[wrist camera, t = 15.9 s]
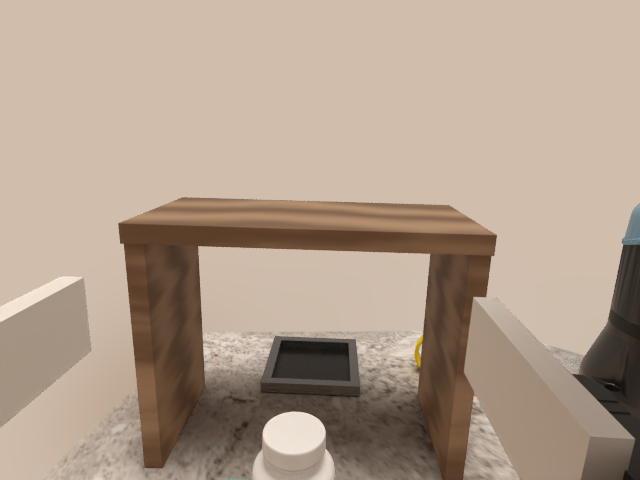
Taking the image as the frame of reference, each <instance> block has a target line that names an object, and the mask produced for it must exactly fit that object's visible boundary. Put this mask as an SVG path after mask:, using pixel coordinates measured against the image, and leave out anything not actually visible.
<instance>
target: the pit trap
mask: <svg viewBox="0 0 640 480" xmlns="http://www.w3.org/2000/svg"><path fill="white" fill-rule="evenodd" d="M261 392H275V393H298V394H320V395H343V396H359V395H360V382H359V371H358V360H357V349H356V340H355V339H330V338H305V337H280V336H275V338H274V341H273V345H272V348H271V351H270V354H269V357H268V361H267V364H266V367H265V370H264V374H263V377H262V380H261Z"/></svg>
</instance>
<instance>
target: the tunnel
mask: <svg viewBox="0 0 640 480" xmlns="http://www.w3.org/2000/svg"><path fill="white" fill-rule="evenodd" d="M119 234H120V243H122V244H124V250H125V260H126V271H127V281H128V292H129V303H130V314H131V324H132V334H133V346H134V355H135V367H136V377H137V388H138V399H139V409H140V420H141V431H142V441H143V452H144V462H145V467H151V468H162V467H163V466H164V464H165V462H166V460H167V458H168V456H169V454H170V452H171V450H172V448H173V446H174V445H175V443H176V441H177V439H178V437H179V435H180V433H181V431H182V429H183V427H184V426H185V424H186V422H187V420H188V418H189V416H190V414H191V412H192V410H193V408H194V407H195V405H196V403H197V401H198V399H199V397H200V395H201V393H202V391H203V389H204V388H205V377H204V357H203V336H202V317H201V298H200V297H201V296H200V276H199V256H198V246H213V247H215V246H216V247H243V248H273V249H303V250H335V251H364V252H395V253H425V254H430V265H429V276H428V287H427V298H426V309H425V320H424V331H423V342H422V353H421V364H420V375H419V386H418V399H419V402H420V405H421V409H422V412H423V415H424V418H425V422H426V425H427V428H428V431H429V435H430V438H431V441H432V444H433V448H434V451H435V454H436V457H437V461H438V464H439V467H440V470H441V474H442V477H443V480H463V474H464V466H465V458H466V450H467V442H468V435H469V427H470V419H471V411H472V403H473V396H474V391H473V389H472V387H471V385H470V383H469V381H468V379H467V377H466V375H465V374H464V366H465V358H466V350H467V343H468V335H469V327H470V320H471V312H472V304H473V297H486V294H487V286H488V278H489V271H490V262H491V256H494V252H495V245H496V238H497V235H495V234H494V233H492V232H491V231H489V230H488V229H486V228H484V227H483V226H481V225H480V224H478V223H476V222H475V221H473V220H472V219H470V218H468V217H467V216H465V215H464V214H462V213H460V212H459V211H457V210H456V209H454V208H452V207H451V206H449V205H424V204H389V203H355V202H320V201H286V200H284V201H283V200H252V199H251V200H250V199H249V200H248V199H217V198H180V199H178V200H175V201H173V202H170V203H168V204H165V205H163V206H160V207H158V208H156V209H153V210H151V211H148V212H145V213H143V214H141V215H138V216H136V217H133V218H131V219H128V220H126V221H123V222H121V223H119Z"/></svg>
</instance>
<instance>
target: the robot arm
mask: <svg viewBox="0 0 640 480" xmlns="http://www.w3.org/2000/svg"><path fill="white" fill-rule="evenodd" d="M622 244H624V245H623V250H622V255H621V260H620V265H619V270H618V275H617V279H616V285H615V290H614V294H613V299H612V304H611V309H610V313H609V318H608V322H607V324H606V326H605V327H604V329H603V330H602V332H601V333H600V335H599V336H598V338H597V339H596V341H595V342H594V344H593V345H592V347H591V348H590V349H589V351H588V352H587V354H586V355H585V357H584V358H583V360H582V362H581V365H580V370H579V375H576V374H571V373H570V372H569V371H568V370H567V369H566V368H565V367H564V366H563V365H562V364H561V363H560V362H559V361H558V360H557V359H556V358H555V357H554V356H553V355H552V354H551V353H550V352H549V351H548V349H547V348H546V347H545V346H544V345H543V344H542V343H541V342H540V341H539V340H538V339H537V338H536V337H535V336H534V335H533V334H532V333H531V332H530V331H529V330H528V329H527V328H526V327H525V326H524V325H523V324H522V323H521V322H520V321H519V320H518V319H517V318H516V317H515V316H514V315H513V314H512V313H511V312H510V311H509V310H508V309H507V308H506V307H505V306H504V305H503V304H502V303H501V301H500V300H499V299H498V298H487V297H473V304H472V312H471V320H470V327H469V335H468V343H467V350H466V358H465V366H464V374H465V375H466V377H467V379H468V381H469V383H470V385H471V387H472V389H473V391H474V393H475V394H476V396H477V398H478V400H479V402H480V404H481V406H482V408H483V410H484V412H485V414H486V415H487V417H488V419H489V421H490V423H491V425H492V427H493V429H494V431H495V433H496V434H497V436H498V438H499V440H500V442H501V444H502V446H503V448H504V450H505V452H506V454H507V455H508V457H509V459H510V461H511V463H512V465H513V467H514V469H515V471H516V473H517V474H518V476H519V478H520V480H640V204H638V205H637V206H636V207H635V208H634V210H633V212H632V214H631V218H630V221H629V224H628V228H627V231H626V235H625V237H624V238H623V239H622ZM90 351H91V343H90V333H89V324H88V314H87V305H86V295H85V285H84V277H66V276H61V277H59V278H57V279H55V280H53V281H51V282H49V283H47V284H45V285H43V286H41V287H39V288H37V289H35V290H33V291H31V292H29V293H27V294H25V295H23V296H21V297H19V298H17V299H15V300H13V301H11V302H8V303H6V304H4V305H2V306H0V428H1V427H2V426H3V425H4V424H6V423H7V422H8V421H9V420H10V419H11V418H13V417H14V416H15V415H16V414H17V413H19V412H20V411H21V410H22V409H23V408H24V407H26V406H27V405H28V404H29V403H30V402H31V401H33V400H34V399H35V398H36V397H37V396H39V395H40V394H41V393H42V392H43V391H44V390H46V389H47V388H48V387H49V386H50V385H51V384H53V383H54V382H55V381H56V380H57V379H59V378H60V377H61V376H62V375H63V374H64V373H66V372H67V371H68V370H69V369H70V368H72V367H73V366H74V365H75V364H76V363H78V362H79V361H80V360H81V359H82V358H83V357H85V356H86V355H87V354H88V353H89V352H90Z"/></svg>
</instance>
